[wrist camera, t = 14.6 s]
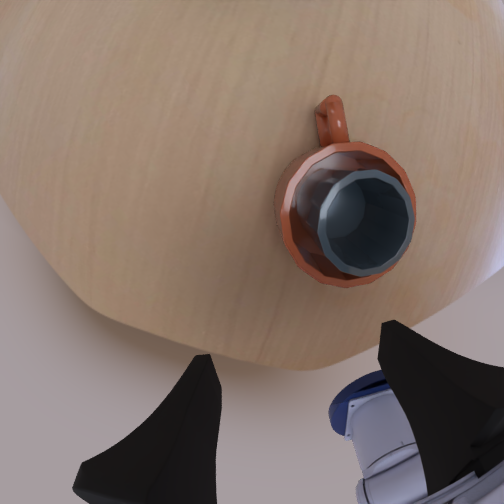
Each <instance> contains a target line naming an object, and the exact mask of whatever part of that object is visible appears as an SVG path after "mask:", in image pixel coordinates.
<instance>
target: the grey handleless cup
mask: <svg viewBox="0 0 504 504" xmlns="http://www.w3.org/2000/svg"><path fill="white" fill-rule="evenodd" d="M297 213H298V217H299V220H300V222H301V224H302V226H303V228H304V230H305V231H306V232H307V233H308V235H309V236H310V237H311V238H312V240H313V241H314V242H315V244H316V245H317V246H318V247H319V249H320V250H321V251H322V253H323V254H324V255H325V256H326V257H327V258H328V259H329V260H330V261H331V262H332V263H333V264H334V265H335V266H336V267H337V268H338V269H339V270H340V271H342V272H345V273H349V274H352V275H356V276H359V277H364V276H369V275H374V274H379V273H382V272H384V271H385V270H387V269H388V268H389V267H391V266H392V265H393V264H395V263H396V262H397V261H399V260H400V258H401V257H402V255H403V254H404V252H405V250H406V249H407V247H408V245H409V244H410V242H411V239H412V234H413V228H414V222H415V216H414V211H413V207H412V202H411V198H410V196H409V194H408V193H407V192H406V190H405V189H404V188H403V186H402V185H401V184H400V182H399V181H398V180H397V179H396V178H394V177H392V176H390V175H388V174H386V173H384V172H381V171H379V170H376V169H363V168H345V167H336V168H326V169H321V170H319V171H317V172H315V173H314V174H312V175H311V176H310V177H308V178H307V180H306V181H305V182H304V183H303V185H302V186H301V188H300V191H299V193H298V197H297Z"/></svg>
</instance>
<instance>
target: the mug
mask: <svg viewBox="0 0 504 504" xmlns="http://www.w3.org/2000/svg"><path fill="white" fill-rule="evenodd" d="M315 117H316V123H317V128H318V134H319V140H320V146H321V147H317V148H314V149H312V150H310V151H308V152H306V153H304V154H302V155H301V156H299V157H298V158H296V159H294V160H293V162H292V163H290V165H289V166H288V167H287V168H286V169H285V171H284V172H283V174H282V175H281V177H280V179H279V182H278V184H277V187H276V191H275V197H274V212H275V217H276V223H277V227H278V229H279V232H280V234H281V237H282V239H283V242H284V244H285V246H286V247H287V249H288V251H289V252H290V254H291V256H292V257H293V259H294V261H295V262H296V264H297V266H298V267H299V268H300V269H301V270H303V271H304V272H306V273H307V274H308V275H310V276H311V277H313V278H314V279H316V280H317V281H318V282H320V283H323V284H328V285H333V286H338V287H343V288H349V287H354V286H359V285H364V284H369V283H372V282H373V281H375V280H376V279H378V278H379V277H381V276H383V275H384V274H386V273H387V272H389V271H390V270H392V269H393V268H394V266H395V265H396V264H397V262H398V261H397V262H396V263H395V264H393V265H392V266H391V267H389V268H388V269H387V270H385V271H384V272H382V273H379V274H374V275H369V276H364V277H359V276H356V275H352V274H349V273H345V272H342V271H340V270H339V269H338V268H337V267H336V266H335V265H334V264H333V263H332V262H331V261H330V260H329V259H328V258H327V257H326V256H325V255H324V254H323V253H322V251H321V250H320V249H319V247H318V246H317V245H316V244H315V242H314V241H313V240H312V238H311V237H310V236H309V235H308V233H307V232H306V231H305V230H304V228H303V226H302V224H301V222H300V220H299V217H298V213H297V197H298V193H299V191H300V188H301V186H302V185H303V183H304V182H305V181H306V180H307V178H308V177H310V176H311V175H312V174H314V173H315V172H317V171H319V170H321V169H326V168H336V167H345V168H363V169H376V170H379V171H381V172H384V173H386V174H388V175H390V176H392V177H394V178H396V179H397V180H398V181H399V182H400V184H401V185H402V186H403V188H404V189H405V190H406V192H407V193H408V194H409V196H410V198H411V202H412V207H413V211H414V216H415V222H414V228H413V232H414V229H415V225H416V198H415V194H414V191H413V189H412V186H411V184H410V181H409V179H408V177H407V174H406V172H405V171H404V169H403V168H402V167H401V166H400V165H399V164H398V163H397V162H396V161H395V160H394V159H393V158H392V157H391V156H390V155H389V154H388V153H387V152H385V151H384V150H381V149H379V148H376V147H373V146H371V145H368V144H366V143H363V142H349V135H348V129H347V124H346V118H345V113H344V108H343V103H342V100H341V98H340V97H339V96H337V95H329V96H328V97H327V98H325V99H324V100H323V101H322V102H321V103H320V104H319V105H318V106H316V108H315ZM412 235H413V234H412ZM408 247H409V245H408ZM408 247H407V249H408ZM407 249H406V250H405V252H406V251H407ZM405 252H404V253H405ZM403 255H404V254H403ZM403 255H402V256H403ZM400 259H401V258H400Z"/></svg>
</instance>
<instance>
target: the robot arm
mask: <svg viewBox="0 0 504 504" xmlns="http://www.w3.org/2000/svg"><path fill="white" fill-rule="evenodd" d="M378 361H379V364H380V366H381V369H382V371H383V374H384V376H385V378H386V380H387V382H388V384H389V386H390V387H391V388H389V389H386V390H383V391H380V392H376V393H373V394H369V395H366V396H362V397H358V398H354V399H351V400H350V401H349V403H348V412H347V421H346V429H345V437H344V438H345V440H346V441H347V440H352V441H353V444H354V448H355V451H356V454H357V458H358V461H359V464H360V468H361V470H362V473H363V476H364V478H362V479H360V480H359V482H358V484H357V486H356V496H357V501H358V504H504V368H503V367H498V366H493V365H489V364H485V363H481V362H478V361H475V360H471V359H469V358H466V357H463V356H461V355H458V354H456V353H454V352H452V351H450V350H448V349H445V348H443V347H441V346H439V345H438V344H435V343H434V342H432V341H430V340H428V339H427V338H425V337H423V336H421V335H420V334H418V333H416V332H415V331H413V330H411V329H410V328H408V327H406V326H405V325H403V324H401V323H399V322H398V321H396V320H391V321H387V322H384V323H382V326H381V335H380V344H379V352H378ZM221 394H222V389H221V384H220V382H219V379H218V376H217V373H216V370H215V368H214V365H213V362H212V359H211V356H210V354H205V355H196V356H195V357H194V358H193V360H192V361H191V363H190V364H189V366H188V367H187V369H186V370H185V372H184V373H183V375H182V376H181V378H180V379H179V381H178V382H177V383H176V385H175V386H174V388H173V389H172V390H171V392H170V393H169V394H168V395H167V397H166V398H165V399H164V400H163V402H162V403H161V404H160V405H159V407H158V408H157V409H156V410H155V411H154V412H153V413H152V414H151V415H150V416H149V417H148V418H147V419H146V420H145V421H144V422H143V423H142V424H141V425H140V426H139V427H137V428H136V429H135V430H134V431H133V432H131V433H130V434H129V435H128V436H126V437H125V438H124V439H123V440H121V441H120V442H118V443H117V444H115V445H114V446H112V447H111V448H109V449H107V450H106V451H104V452H102V453H100V454H99V455H97V456H95V457H93V458H91V459H89V460H87V461H85V462H82V464H81V466H80V469H79V471H78V474H77V476H76V479H75V482H74V484H73V487H72V488H73V491H74V492H75V493H76V495H78V496H79V497H80V498H82V499H83V500H85V501H86V502H88V503H89V504H217V497H216V449H217V441H218V433H219V425H220V417H221V409H222V395H221Z"/></svg>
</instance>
